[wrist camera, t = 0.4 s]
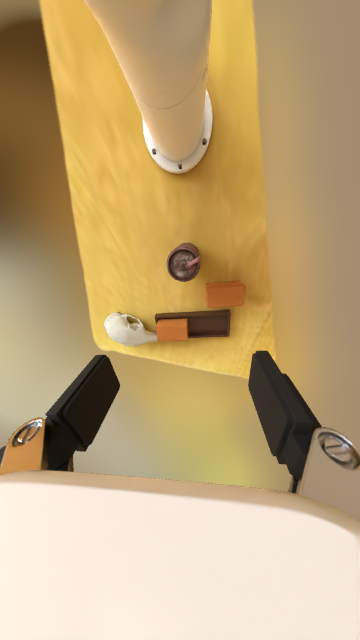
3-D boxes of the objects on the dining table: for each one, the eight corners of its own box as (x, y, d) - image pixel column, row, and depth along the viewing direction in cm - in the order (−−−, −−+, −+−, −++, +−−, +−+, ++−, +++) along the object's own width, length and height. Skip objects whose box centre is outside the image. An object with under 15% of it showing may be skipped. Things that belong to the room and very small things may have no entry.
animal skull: (154, 347, 55) (138, 366, 46) (117, 321, 55) (95, 335, 47) (166, 328, 50) (151, 345, 41) (125, 299, 50) (101, 310, 42)
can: (204, 259, 39) (208, 270, 27) (183, 272, 41) (178, 289, 29) (191, 236, 37) (189, 237, 25) (170, 252, 39) (159, 260, 27)
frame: (156, 313, 48) (154, 316, 46) (229, 309, 45) (230, 312, 44) (160, 335, 52) (159, 338, 50) (228, 332, 49) (229, 336, 48)
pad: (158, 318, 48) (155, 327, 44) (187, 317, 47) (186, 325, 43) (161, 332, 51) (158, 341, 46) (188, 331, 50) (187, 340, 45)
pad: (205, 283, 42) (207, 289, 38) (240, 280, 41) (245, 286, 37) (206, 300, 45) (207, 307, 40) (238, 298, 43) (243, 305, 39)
